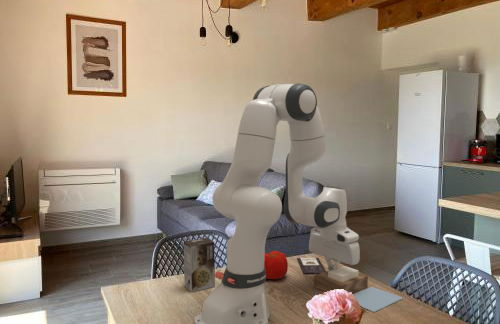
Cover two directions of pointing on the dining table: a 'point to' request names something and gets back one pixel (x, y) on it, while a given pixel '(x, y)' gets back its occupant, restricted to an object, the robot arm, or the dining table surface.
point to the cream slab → (343, 273)
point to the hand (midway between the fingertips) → (332, 270)
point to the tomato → (275, 265)
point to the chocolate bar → (311, 266)
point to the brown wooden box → (340, 283)
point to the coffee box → (199, 264)
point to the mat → (375, 299)
